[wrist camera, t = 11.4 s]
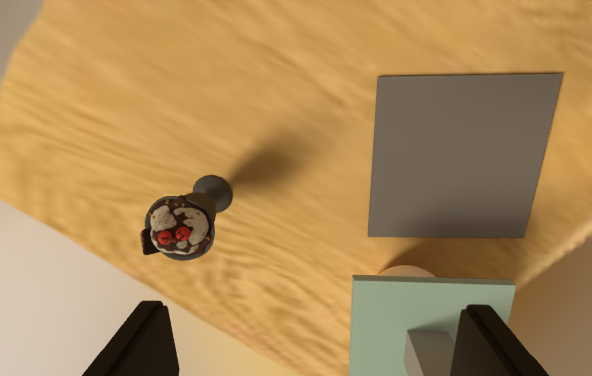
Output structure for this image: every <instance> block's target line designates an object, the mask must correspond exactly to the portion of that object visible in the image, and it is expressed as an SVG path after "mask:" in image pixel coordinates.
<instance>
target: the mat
mask: <svg viewBox="0 0 592 376" xmlns="http://www.w3.org/2000/svg"><path fill="white" fill-rule="evenodd" d="M562 75H563V74H517V75H454V76H391V77H378V80H377V95H376V111H375V127H374V143H373V158H372V174H371V190H370V206H369V222H368V237H454V238H524V236H525V232H526V228H527V224H528V219H529V215H530V211H531V207H532V202H533V198H534V194H535V190H536V185H537V181H538V177H539V173H540V168H541V164H542V160H543V156H544V151H545V147H546V143H547V139H548V134H549V130H550V126H551V122H552V117H553V113H554V109H555V105H556V100H557V96H558V92H559V88H560V83H561V79H562Z"/></svg>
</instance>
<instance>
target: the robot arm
mask: <svg viewBox="0 0 592 376" xmlns="http://www.w3.org/2000/svg"><path fill="white" fill-rule="evenodd" d="M82 376H179V364H178V359H177V353H176V348H175V343H174V338H173V333H172V327H171V322H170V317H169V311H168V307H167V306H163V303H162V302H161V301H142V302H140V303H139V305H138V306H137V307H136V308H135V310H134V311H133V312H132V313H131V315H130V316H129V317H128V318H127V320H126V321H125V322H124V324H123V325H122V326H121V327H120V329H119V330H118V332H116V334H115V335H114V336H113V337H112V339H111V340H110V341H109V343H108V344H107V345H106V346H105V348H104V349H103V350H102V351H101V352H100V353H99V355H98V356H97V357H96V358H95V360H94V361H93V362H92V364H91V365H90V366H89V367H88V369H87V370H86V371H85V372H84V374H83V375H82ZM450 376H549V375H548V374H547V372H546V371H545V370H544V369H543V368H542V366H541V365H540V364H539V363H538V362H537V360H536V359H535V358H534V357H533V356H532V355H530V354H529V352H528V351H527V350H526V349H525V347H524V346H523V345H522V344H521V343H520V342H519V340H518V339H517V337H516V336H515V335H514V334H513V333H512V331H511V330H510V329H509V328H508V326H507V325H506V324H505V323H504V321H503V320H502V319H501V318H500V316H499V315H498V314H497V313H496V311H495V310H494V309H493V308H492V307H491V306H490V305H488V304H469V305H467V307H466V309H462V310H461V313H460V319H459V325H458V331H457V336H456V342H455V348H454V354H453V360H452V365H451V371H450Z"/></svg>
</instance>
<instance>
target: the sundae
mask: <svg viewBox="0 0 592 376" xmlns="http://www.w3.org/2000/svg"><path fill="white" fill-rule="evenodd" d="M231 199H232V193H231V189H230V187H229V186H228V184H227V183H226V182H225V181H224V180H222V179H221V178H219V177H216V176H204V177H202V178H200V179H199V180H198V181H197V182H196V183H195V185H194V187H193V193H190V194H186V195H184V196H183V195H180V196H166V197H163V198H161V199H159V200H157V201H156V202H155V203H154V204H153V205H152V206H151V208H150V209H149V211H148V213H147V214H146V218H145V229H144V230H143V231H141V243H142V247H143V254H144V255H149V254H154V253H158V252H162V253H163V254H164V255H166V256H167V257H169V258H172V259H174V260H180V261H184V260H192V259H195V258H198V257H200V256H202V255H204V254H205V253H207V252H208V250H209V249H210V247H211V246H212V244H213V240H214V235H215V229H214V221H215V217H216V213H219V212H222V211H224V210H225V209H227V207H228V206H229V205H230V203H231Z"/></svg>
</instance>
